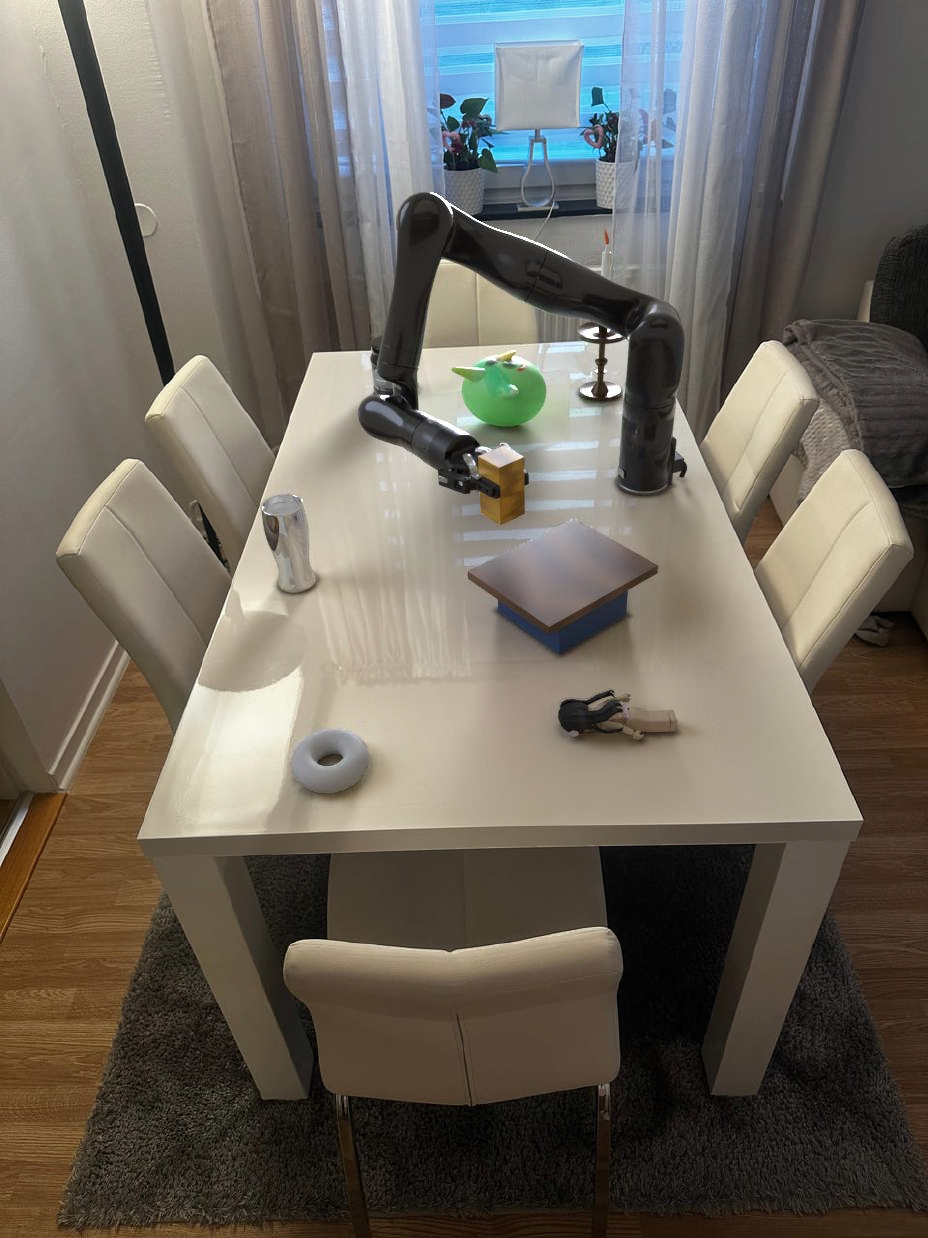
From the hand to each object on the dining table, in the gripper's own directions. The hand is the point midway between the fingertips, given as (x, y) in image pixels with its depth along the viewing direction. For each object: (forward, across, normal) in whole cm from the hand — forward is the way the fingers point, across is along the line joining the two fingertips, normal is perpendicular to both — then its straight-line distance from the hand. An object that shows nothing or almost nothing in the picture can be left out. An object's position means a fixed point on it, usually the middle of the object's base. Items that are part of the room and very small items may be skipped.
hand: (512, 486), depth 134 cm
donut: (+15, -44, +18) cm, 50 cm away
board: (+11, 0, +11) cm, 15 cm away
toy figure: (+34, -12, +18) cm, 40 cm away
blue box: (+11, 0, +18) cm, 21 cm away
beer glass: (-24, -27, +18) cm, 40 cm away
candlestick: (-42, +62, +18) cm, 77 cm away
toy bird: (-46, +36, +18) cm, 61 cm away
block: (-3, 0, +6) cm, 7 cm away
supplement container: (-75, +29, +18) cm, 83 cm away
